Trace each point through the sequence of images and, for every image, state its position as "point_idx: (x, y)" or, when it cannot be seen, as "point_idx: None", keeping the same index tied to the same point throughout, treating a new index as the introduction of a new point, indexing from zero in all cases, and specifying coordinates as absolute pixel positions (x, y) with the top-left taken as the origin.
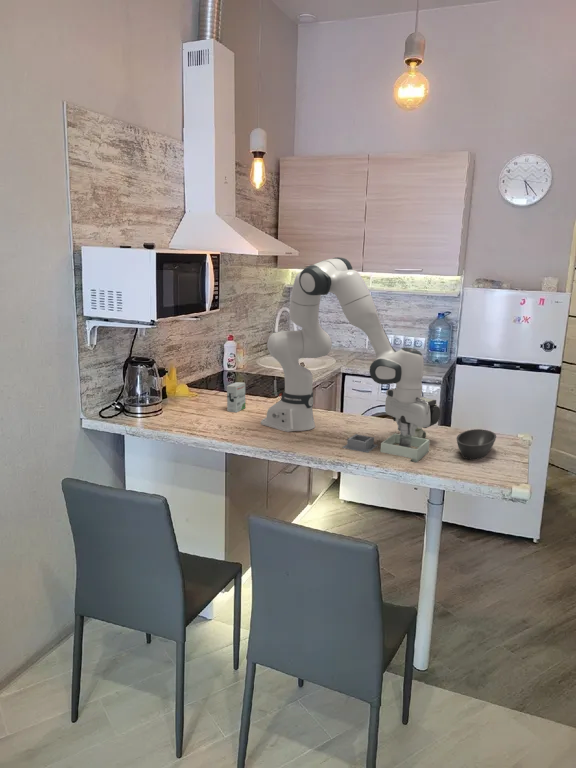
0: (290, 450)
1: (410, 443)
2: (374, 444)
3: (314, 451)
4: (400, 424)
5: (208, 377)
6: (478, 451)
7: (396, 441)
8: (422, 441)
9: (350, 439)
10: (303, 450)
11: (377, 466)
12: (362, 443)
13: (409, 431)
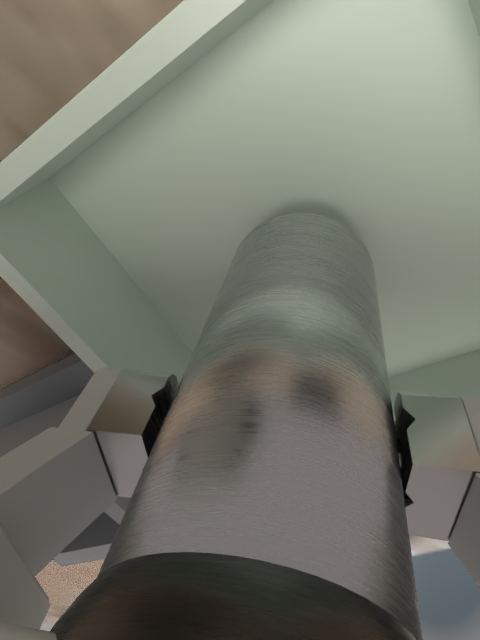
0: (54, 606)
1: (373, 282)
2: (69, 375)
3: (82, 574)
4: (79, 489)
5: None
6: None
7: (45, 179)
8: None
9: (72, 561)
10: (61, 587)
11: (413, 537)
12: None
13: (438, 521)
